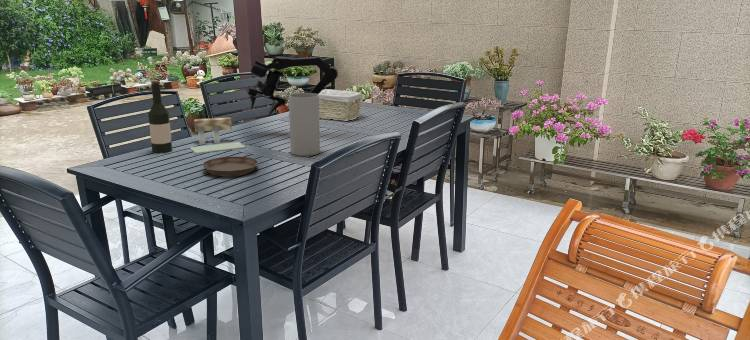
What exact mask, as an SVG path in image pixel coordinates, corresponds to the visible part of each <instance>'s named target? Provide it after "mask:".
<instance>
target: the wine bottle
mask: <svg viewBox="0 0 750 340" xmlns="http://www.w3.org/2000/svg"><path fill="white" fill-rule="evenodd" d="M150 85H151V96H152V106H151V108H150V110H149V111H148V113H147V114H148V124H149V133H150V134H149V135H150V144H151V152H152V153H153V152H154V154H168V153H170V152H171V153H172V152H173V144H172V143H173V142H172V133H171V123H170V122H171V121H170V112H169V110H168V109H167V108H166V106H164V104H163V101H162V91H161V83H160V82H159V81H158V80H154V81H152V82H151V84H150Z"/></svg>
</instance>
